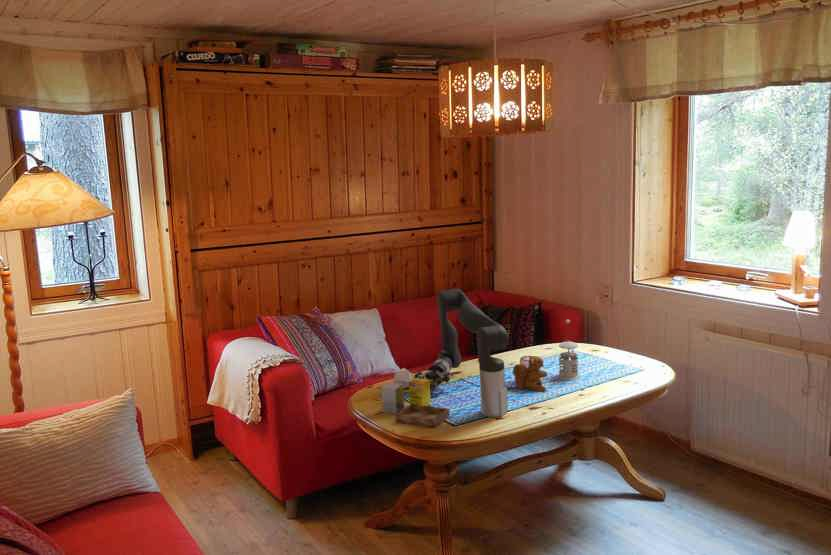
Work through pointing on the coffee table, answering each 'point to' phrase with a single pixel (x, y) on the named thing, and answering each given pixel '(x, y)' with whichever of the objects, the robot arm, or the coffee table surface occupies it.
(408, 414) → the walnut tray
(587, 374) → the coffee table surface
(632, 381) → the coffee table surface
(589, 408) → the coffee table surface
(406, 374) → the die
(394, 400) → the grey tin box
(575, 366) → the french press
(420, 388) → the supplement box
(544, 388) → the stuffed squirrel
